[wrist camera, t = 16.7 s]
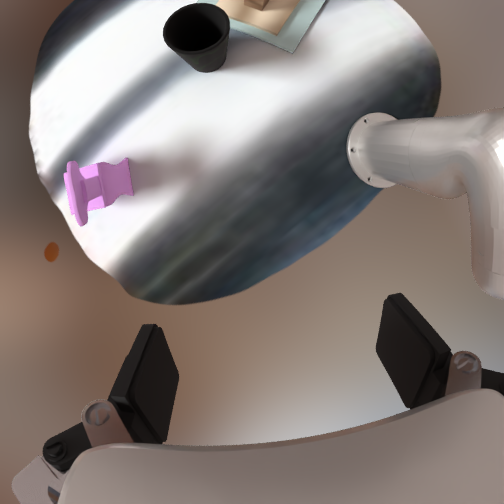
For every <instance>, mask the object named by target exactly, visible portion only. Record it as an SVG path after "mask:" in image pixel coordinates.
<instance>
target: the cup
mask: <svg viewBox="0 0 504 504" xmlns="http://www.w3.org/2000/svg"><path fill="white" fill-rule="evenodd" d="M229 31H230V20H229V17H228V15H227V14H226V12H225V11H224V10H223V9H221V8H220V7H218V6H216V5H213V4H209V3H194V4H190V5H187V6H184V7H182V8H180V9H179V10H177V11H175V12H174V13H173V14H172V15H171V16H170V17H169V18H168V20H167V21H166V23H165V26H164V28H163V37H164V41H165V43H166V44H167V46H168V47H170V48H171V49H172V50H173V51H174V52H176V53H177V54H178V55H179V56H180V57H181V58H183V59H184V60H185V61H186V62H187V63H188V64H190V65H191V66H192V67H193V68H194V69H195V70H197V71H199V72H205V73H208V72H213V71H215V70H217V69H219V68H220V67H221V66H222V65H223V63H224V62H225V59H226V52H227V45H228V38H229Z"/></svg>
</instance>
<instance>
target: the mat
mask: <svg viewBox="0 0 504 504" xmlns="http://www.w3.org/2000/svg"><path fill="white" fill-rule="evenodd" d="M218 1H219V0H198V2H197V3H209V4H213V5H216V4H217V2H218ZM324 2H325V0H300V1H299V3H298V4H297V6H296V7H295V9H294V10H293V12H292V13H291V15H290V16H289V18H288V19H287V21H286V22H285V24H284V25H283V27H282V29H281V30H280V32H279V33H278V35H277V36H275V35H273V34H270V33H268V32H265V31H263V30H260V29H258V28H255V27H253V26H250V25H247V24H244V23H242V22H239V21H236V20H233V19H230V18H229V20H230V28H231V29H234V30H237V31H239V32H242V33H245V34H248V35H250V36H253V37H255V38H258V39H260V40H263V41H265V42H268V43H270V44H272V45H275V46H277V47H279V48H281V49H284V50H286V51H288V52H290V53H292V54H293V53H294V51H295V49H296V47H297V46H298V44H299V42H300V41H301V39H302V37H303V36H304V34H305V32H306V31H307V29H308V27H309V26H310V24H311V22H312V21H313V19H314V17H315V16H316V14H317V13H318V11H319V9H320V8H321V6H322V5H323V3H324Z"/></svg>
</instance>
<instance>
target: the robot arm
mask: <svg viewBox="0 0 504 504" xmlns="http://www.w3.org/2000/svg"><path fill="white" fill-rule="evenodd" d="M364 120H365V122H364ZM351 149H352V152H351ZM347 156H348V160H349V163H350V165H351V167H352V169H353V171H354V172H355V174H356V175H357V176H358V177H359V178H360V179H361V180H362V181H364V182H365V183H367V184H369V185H371V186H374V187H378V188H388V187H392V186H394V185H396V184H399V185H402V186H405V187H408V188H411V189H415V190H417V191H420V192H423V193H426V194H429V195H432V196H435V197H438V198H442V199H454V198H457V197H460V196H462V195H464V194H465V193H467V196H468V205H469V212H470V225H471V266H472V272H473V276H474V279H475V281H476V283H477V284H478V286H479V287H480V288H481V289H482V290H483V291H484V292H485V293H487V294H489V295H491V296H493V297H495V298H498V299H502V300H504V107H503V108H493V109H489V110H485V111H480V112H475V113H471V114H465V115H459V116H447V117H431V118H414V119H402V120H397V119H396V118H394V117H393V116H390V115H388V114H385V113H371V114H367V115H365V116H363V117H361V118H360V119H358V120H357V121H356V122H355V123H354V125H353V126H352V128H351V130H350V132H349V135H348V138H347ZM368 178H369V180H368ZM450 351H451V349H450V348H449V346H448V345H447V344H446V343H445V342H444V340H443V339H442V338H441V337H440V336H439V334H438V333H437V332H436V331H435V330H434V329H433V328H432V326H431V325H430V324H429V323H428V322H427V321H426V319H424V317H423V316H422V315H421V314H420V313H419V312H418V311H417V309H416V308H415V307H414V306H413V305H412V304H411V303H410V302H409V301H408V300H407V299H406V297H404V295H403V294H402V293H397V294H392V295H389V296H388V297H387V299H385V301H384V304H383V311H382V317H381V322H380V328H379V333H378V339H377V343H376V352H377V354H378V357H379V358H380V360H381V362H382V364H383V366H384V367H385V369H386V371H387V373H388V374H389V376H390V378H391V380H392V382H393V384H394V386H395V387H396V389H397V391H398V393H399V395H400V397H401V399H402V401H403V403H404V405H405V406H406V407H407V408H410V410H408V411H405V412H402V413H399V414H396V415H394V416H390V417H387V418H384V419H381V420H378V421H375V422H371V423H367V424H364V425H360V426H357V427H353V428H348V429H345V430H340V431H336V432H331V433H326V434H321V435H316V436H311V437H305V438H299V439H292V440H285V441H277V442H267V443H257V444H243V445H220V446H192V445H191V446H190V445H165V444H162V443H163V442H165V441H166V440H167V435H168V430H169V425H170V420H171V415H172V409H173V405H174V400H175V395H176V391H177V386H178V381H179V374H178V370H177V367H176V365H175V362H174V360H173V357H172V355H171V352H170V349H169V347H168V344H167V341H166V339H165V336H164V333H163V330H162V328H161V327H158V326H157V325H156V324H144V325H142V327H141V329H140V331H139V333H138V335H137V337H136V339H135V342H134V344H133V346H132V348H131V350H130V352H129V354H128V356H127V357H126V358H125V361H124V363H123V365H122V367H121V369H120V372H119V374H118V377H117V379H116V381H115V383H114V385H113V388H112V390H111V393H110V395H109V398H108V400H96V401H93V402H91V403H89V404H88V405H87V406H86V407H85V408H84V410H83V412H82V416H81V418H82V422H81V423H79V424H77V425H75V426H73V427H71V428H69V429H68V430H66V431H64V432H62V433H60V434H58V435H56V436H54V437H52V438H50V439H49V440H47V442H46V443H45V445H44V447H43V456H42V457H40V456H37V457H36V458H35V459H34V460H33V461H32V462H31V463H30V464H28V465H27V466H26V467H25V468H24V469H23V470H22V471H21V472H20V473H18V474H17V475H16V476H15V477H14V479H13V481H12V490H13V492H14V494H15V496H16V497H17V499H18V500H19V502H20V503H21V504H504V373H500V372H495V371H491V370H487V369H483V368H482V366H481V361H480V359H479V358H478V357H477V356H476V355H475V354H473V353H471V352H468V351H459V352H456V353H455V354H454V355H453V354H452V353H451V352H450Z"/></svg>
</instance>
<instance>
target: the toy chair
mask: <svg viewBox="0 0 504 504" xmlns="http://www.w3.org/2000/svg"><path fill="white" fill-rule="evenodd" d="M64 180H65V185H66V189H67V194H68V199H69V206H70V210H71V215H73V214H75V217H76V220H77V223H78V224H79V225H80V226H84V225H85V224H86V223H87V222H88V213H87V211H90V210H95V209H100V208H104V207H107V206H109V205H111V204H112V203H113V202H114V201H115V200H116V199H117V197H118V196H120V195H121V194H126V195H130V196H133V189H132V183H131V177H130V171H129V164H128V158H125V159H124V160H123V161H122V162H121V163H119V164H117V165H111V164H109V163H106V162H101V163H96V164H93V165H89V166H86V167H83V168H80V169H79V167H78V164H77V162H76V161H70V162H68V164H67V173H64Z"/></svg>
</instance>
